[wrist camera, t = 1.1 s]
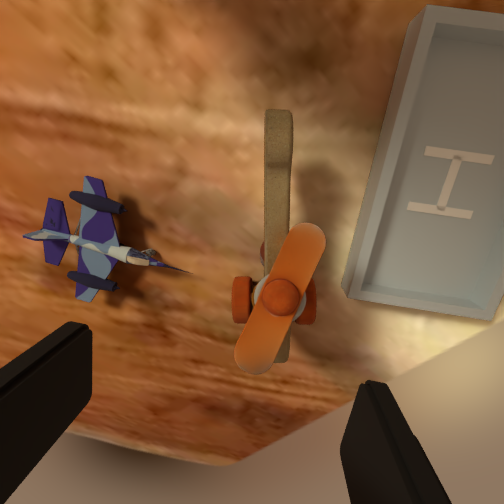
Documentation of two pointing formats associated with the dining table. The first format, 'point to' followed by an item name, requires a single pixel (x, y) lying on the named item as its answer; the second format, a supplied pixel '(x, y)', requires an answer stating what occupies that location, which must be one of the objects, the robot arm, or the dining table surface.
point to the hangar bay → (438, 173)
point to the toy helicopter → (277, 262)
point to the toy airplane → (89, 239)
